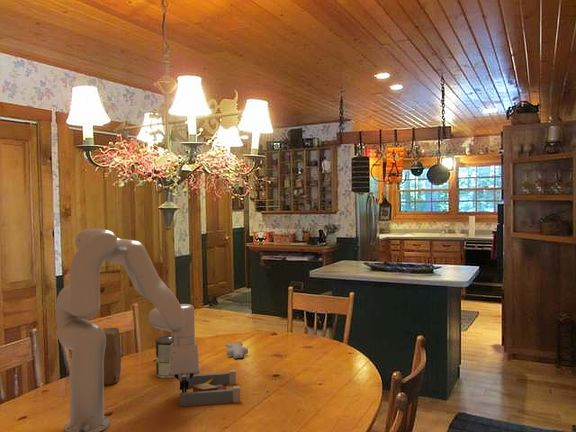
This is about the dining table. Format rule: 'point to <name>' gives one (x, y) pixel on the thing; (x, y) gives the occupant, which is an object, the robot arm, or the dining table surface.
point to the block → (112, 356)
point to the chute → (211, 396)
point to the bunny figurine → (236, 350)
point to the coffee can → (163, 356)
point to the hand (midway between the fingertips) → (184, 391)
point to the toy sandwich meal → (207, 387)
